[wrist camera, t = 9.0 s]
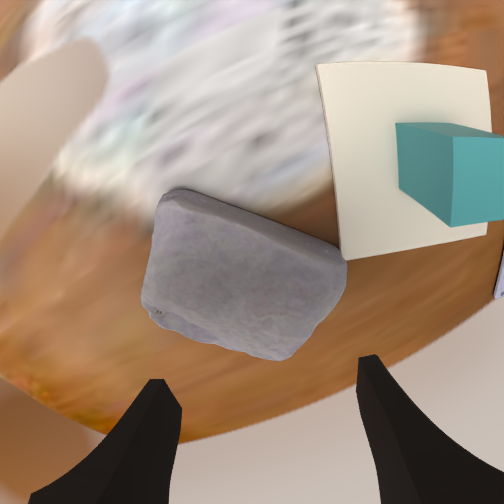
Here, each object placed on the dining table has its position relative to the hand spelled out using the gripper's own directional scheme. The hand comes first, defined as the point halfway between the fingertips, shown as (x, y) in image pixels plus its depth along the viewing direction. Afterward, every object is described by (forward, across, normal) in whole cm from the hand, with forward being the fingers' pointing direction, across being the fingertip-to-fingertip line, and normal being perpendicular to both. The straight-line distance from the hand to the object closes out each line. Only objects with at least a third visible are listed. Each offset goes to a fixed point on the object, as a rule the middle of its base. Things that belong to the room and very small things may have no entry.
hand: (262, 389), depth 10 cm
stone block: (+11, +2, +1) cm, 11 cm away
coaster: (+10, -11, -5) cm, 16 cm away
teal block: (+10, -11, -5) cm, 16 cm away
